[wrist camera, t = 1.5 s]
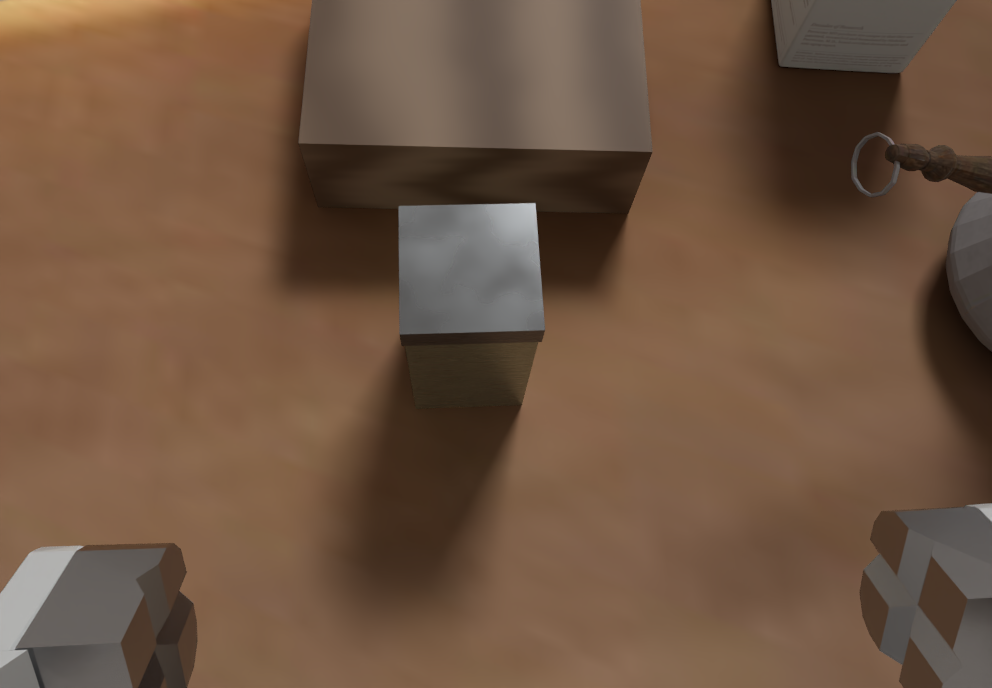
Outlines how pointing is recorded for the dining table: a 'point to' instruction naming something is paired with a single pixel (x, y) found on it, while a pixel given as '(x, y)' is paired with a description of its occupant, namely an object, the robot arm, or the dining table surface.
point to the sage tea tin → (469, 302)
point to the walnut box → (476, 103)
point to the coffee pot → (975, 235)
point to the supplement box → (854, 32)
